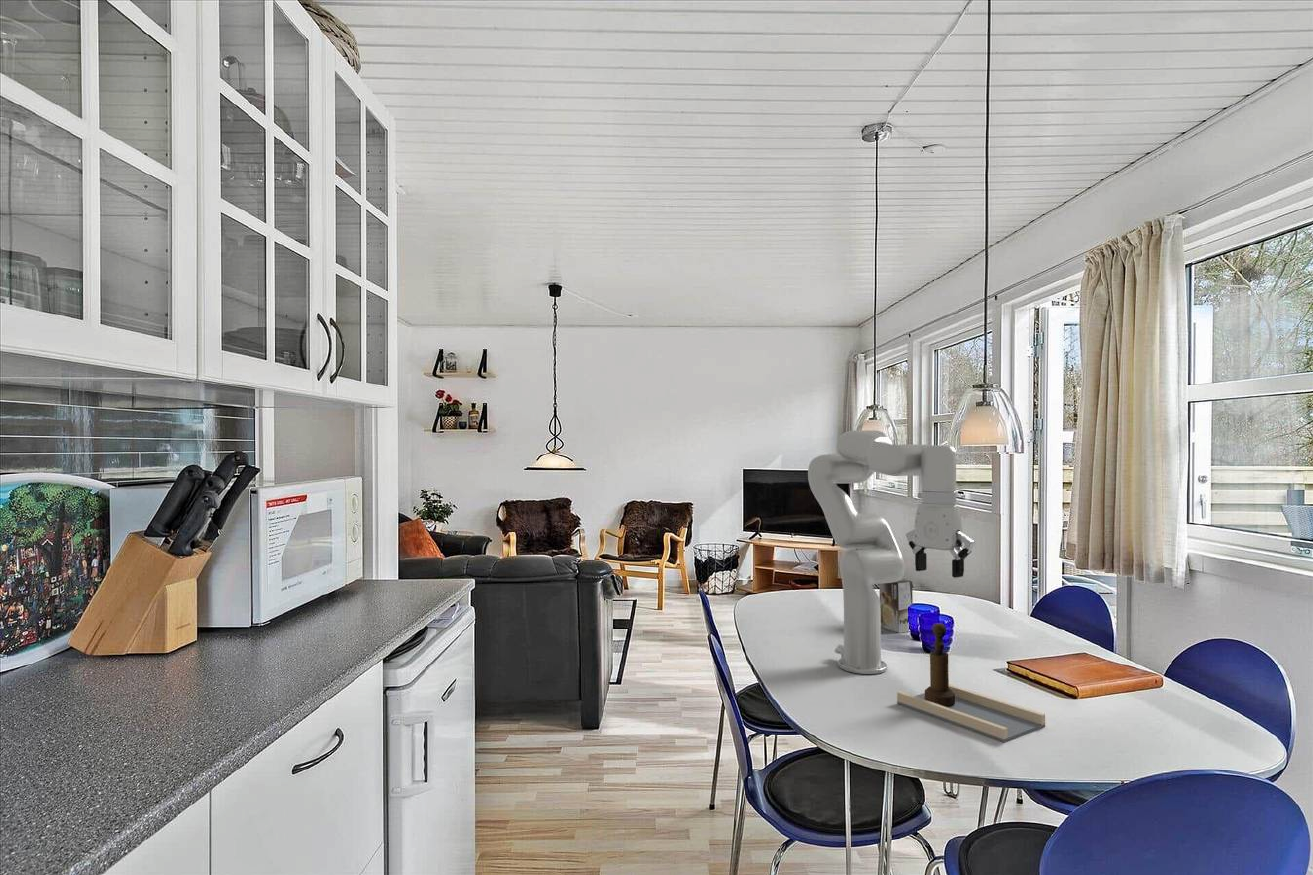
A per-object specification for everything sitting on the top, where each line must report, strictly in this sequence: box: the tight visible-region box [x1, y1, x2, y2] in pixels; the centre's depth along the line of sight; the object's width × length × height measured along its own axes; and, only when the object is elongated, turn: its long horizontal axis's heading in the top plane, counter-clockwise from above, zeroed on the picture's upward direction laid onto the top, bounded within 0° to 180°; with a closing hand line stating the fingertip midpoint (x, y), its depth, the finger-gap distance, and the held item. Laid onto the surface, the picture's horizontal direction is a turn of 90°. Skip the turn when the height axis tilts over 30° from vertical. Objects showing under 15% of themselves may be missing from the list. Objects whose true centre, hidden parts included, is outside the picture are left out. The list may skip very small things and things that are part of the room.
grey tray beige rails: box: [896, 683, 1046, 743], centre depth 159 cm, size 26×15×3 cm, turn 33°
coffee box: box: [878, 578, 914, 634], centre depth 234 cm, size 9×6×16 cm
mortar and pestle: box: [924, 622, 955, 707], centre depth 165 cm, size 7×6×18 cm
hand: (938, 573), depth 166 cm, fingers open, 9 cm apart
